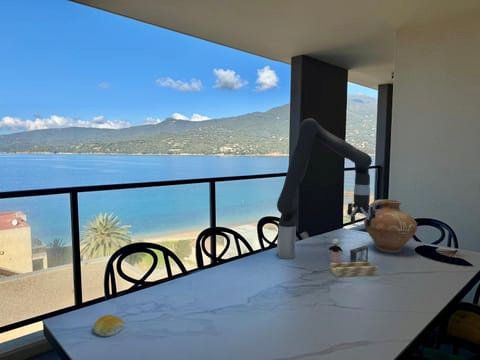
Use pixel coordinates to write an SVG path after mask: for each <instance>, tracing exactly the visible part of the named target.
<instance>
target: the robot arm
mask: <svg viewBox="0 0 480 360" xmlns="http://www.w3.org/2000/svg"><path fill="white" fill-rule="evenodd" d="M314 140H317V141H318V142H321V143H322V144H324V145H325V146H327V147H328V148H329V149H331V150H332V151H333V152H335V153H336V154H338V155H340V156H341V157H343V159H344V158H345V159H347V160H349V161H351V162H352V163H354V171H355V174H354V176H355V177H354V188H353V202H350V203H347V215H349V216H350V223H351V224H355V223H356V215H357V214H361V215H364V216H365V217H366V218H367V224H366V226H367V227H370V226H371V219H374V218H375V210H376V207H375V206H373V207H371V206H369V205H370V198H371V196H370V195H371V186H370V184H371V175H370V171H369V170H370V166H371V165H372V163H373V159H372V157H371V156H370V155H369V154H368V153H366V152H365V151H363V150H360V149H359V148H356V147H355V146H353V145H352V144H350V143H349V142H347V141H345V140H344V139H341V138H340V137H338V136H336V135H335V134H332V133H330V132H329V131H328V130H327V129H325V128H324V127H322V126H321V125H320V124H319V123H318V121H317V120H315V119H314V118H311V117H310V118H305V119H303V120H302V122H301V123H300V126H299V132H298V137H297V143H296V145H295V148H294V150H293V152H292V156H291V158H290V161H289V164H288V168H287V172H286V175H285V179H284V183H283V186H282V189H281V192H280V195H279V196H278V199H277V203H276V208H277V211H278V212H279V213H280V214H281V215H280V217H279V219H278V231H277V232H278V237H277V238H276V239H277V241H276V244H277V245H276V256H277V257H278V258H279V259H284V260H290V259H294V258H295V257H296V236H297V235H296V233H297V232H296V231H297V228H296V227H297V220H298V212H299V211H298V210H299V204H298V203H299V202H298V200H297V198H296V197H295V195H296V192H297V190H298V188H299V186H300V184H301V183H302V181H303V179H304V177H305V176H306V172H307V168H308V164H309V160H310V155H311V148H312V145H313V142H314ZM369 209H370V212H369V211H368V210H369Z"/></svg>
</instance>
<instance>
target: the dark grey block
mask: <svg viewBox="0 0 480 360" xmlns="http://www.w3.org/2000/svg"><path fill="white" fill-rule="evenodd" d="M368 256H369V246H365V245H362V246H359V247H356V248H353V249H350V255H349V262H368V260H369V259H368V258H369V257H368Z"/></svg>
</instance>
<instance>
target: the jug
mask: <svg viewBox="0 0 480 360" xmlns="http://www.w3.org/2000/svg"><path fill="white" fill-rule="evenodd" d="M400 205H402V201H401V200H398V199H376V200H374V201H372V202H371V203H369V206H371V207H373V206H375V208H376V207H377V206H382V207H381V208H378V209H375V218H374V219H371V226H370V227H367V226H366V224H367V218H366V216H365V218H364V219H363V220H364V221H363V224H364V227H365V231H367V233H368V235H369V236H370V238H371V239H372V240H373V242H374V243H375V244H376V249H377V250H379V251H380V252H384V253H390V254H391V253H393V254H396V253H401V252H402V251H401V250H402V249H401V248H402V247H404V246H405V245H406V244H407V243H408V242H409V241H410V240H411V239H412V238H413V237H414V235H415V234H416V232H417V229H418V224H417V221H416V220H415V218H413V216H412V215H410V214H409V213H407V212H405V211H404V210H401V209H400ZM368 211H369V212H370V209H369V210H368Z"/></svg>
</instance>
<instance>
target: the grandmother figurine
mask: <svg viewBox="0 0 480 360" xmlns="http://www.w3.org/2000/svg"><path fill="white" fill-rule="evenodd" d="M339 243H340V241H339V239H338V238H334V239H333V240H332V246H330V247H329V248H328V250H327V253H330V252H331V251H332V252H331V263H341V260H340V259H341V257H340V254H341V255H344V251H343V249H342V247H340V246H339Z"/></svg>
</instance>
